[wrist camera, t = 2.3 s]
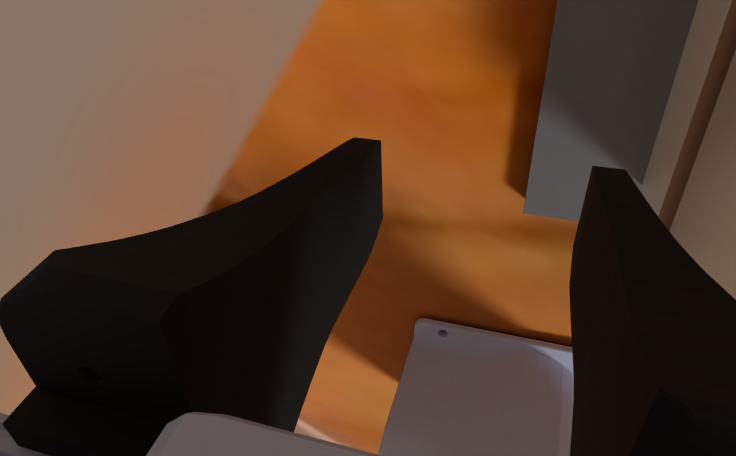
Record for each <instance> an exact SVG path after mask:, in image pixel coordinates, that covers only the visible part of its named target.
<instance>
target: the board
mask: <svg viewBox="0 0 736 456" xmlns="http://www.w3.org/2000/svg"><path fill="white" fill-rule="evenodd" d="M698 1H699V0H557V5H556V11H555V17H554V23H553V30H552V36H551V42H550V48H549V55H548V61H547V67H546V73H545V79H544V86H543V92H542V98H541V104H540V111H539V117H538V123H537V129H536V135H535V142H534V148H533V154H532V160H531V167H530V173H529V179H528V185H527V191H526V198H525V204H524V210H523V213H526V214H533V215H540V216H547V217H554V218H561V219H568V220H575V221H579V220H580V216H581V211H582V207H583V203H584V199H585V195H586V190H587V186H588V182H589V178H590V174H591V169H592V166H600V167H608V168H616V169H625V170H626V171H627V172H628V174H629V175H630V176H631V178H632V179H633V181H634V182H635V184H636V185H637V187H638V188H639V190H640V191H641V193H642V194H643V188H642V183H643V180H644V177H645V174H646V170H647V167H648V164H649V161H650V157H651V154H652V151H653V148H654V144H655V141H656V138H657V135H658V131H659V128H660V125H661V121H662V118H663V115H664V112H665V108H666V105H667V102H668V99H669V95H670V92H671V89H672V86H673V82H674V79H675V76H676V73H677V69H678V66H679V63H680V59H681V56H682V53H683V50H684V46H685V43H686V40H687V37H688V33H689V30H690V27H691V24H692V20H693V17H694V14H695V11H696V7H697V4H698Z"/></svg>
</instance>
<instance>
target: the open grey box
mask: <svg viewBox="0 0 736 456" xmlns="http://www.w3.org/2000/svg"><path fill="white" fill-rule="evenodd" d="M731 2H732V0H699V1H698V4H697V7H696V11H695V14H694V17H693V20H692V24H691V27H690V30H689V33H688V37H687V40H686V43H685V46H684V50H683V53H682V56H681V59H680V63H679V66H678V69H677V73H676V76H675V79H674V82H673V86H672V89H671V92H670V95H669V99H668V102H667V105H666V108H665V112H664V115H663V118H662V121H661V125H660V128H659V131H658V135H657V138H656V141H655V144H654V148H653V151H652V154H651V157H650V161H649V164H648V167H647V170H646V174H645V177H644V180H643V183H642V188H643V196H644V197H645V199H646V200H647V202H648V203H649V205H650V206H651V207H652V209H653V210H654V212H655V213H656V214H657V216H659V213H660V211H661V208H662V205H663V202H664V199H665V196H666V193H667V190H668V187H669V184H670V181H671V178H672V175H673V172H674V169H675V167H676V164H677V161H678V158H679V155H680V152H681V149H682V146H683V143H684V140H685V137H686V134H687V131H688V128H689V126H690V123H691V120H692V117H693V114H694V111H695V108H696V105H697V102H698V99H699V96H700V93H701V90H702V87H703V84H704V82H705V79H706V76H707V73H708V70H709V67H710V64H711V61H712V58H713V55H714V52H715V49H716V46H717V43H718V40H719V38H720V35H721V32H722V29H723V26H724V23H725V20H726V17H727V14H728V11H729V8H730V5H731Z"/></svg>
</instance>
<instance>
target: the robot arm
mask: <svg viewBox="0 0 736 456" xmlns="http://www.w3.org/2000/svg"><path fill="white" fill-rule="evenodd" d="M382 218H383V205H382V164H381V141H380V140H372V139H363V138H355V137H354V138H352V139H350V140H348V141H346V142H345V143H343V144H341V145H340V146H338V147H336V148H335V149H333V150H332V151H330V152H328V153H327V154H325V155H323V156H322V157H320V158H319V159H317V160H315V161H314V162H312V163H310V164H309V165H307V166H305V167H304V168H302V169H301V170H299V171H297V172H296V173H294V174H292V175H290V176H288V177H287V178H285V179H283V180H281V181H279V182H277V183H276V184H274V185H272V186H270V187H268V188H266V189H264V190H263V191H261V192H259V193H257V194H255V195H253V196H251V197H248V198H246V199H244V200H242V201H240V202H237V203H235V204H233V205H230V206H228V207H225V208H223V209H221V210H218V211H216V212H213V213H210V214H207V215H204V216H201V217H198V218H195V219H192V220H189V221H186V222H184V223H180V224H177V225H174V226H172V227H168V228H164V229H160V230H157V231H153V232H149V233H145V234H141V235H137V236H132V237H128V238H124V239H119V240H114V241H109V242H103V243H97V244H92V245H85V246H80V247H73V248H68V249H60V250H55V251H54V252H52V253H51V254H50V255H49V256H48V257H47V258H46V259H44V260H43V261H42V262H41V263H40V264H39V265H38V266H37V267H36V268H34V269H33V270H32V271H31V272H30V273H29V274H28V275H27V276H25V277H24V278H23V279H22V280H21V281H20V282H19V283H18V284H17V285H16V286H14V287H13V288H12V289H11V290H10V291H9V292H8V293H6V294H5V295H4V296H3V297H2V298H1V301H0V326H1V328H2V330H3V332H4V334H5V336H6V338H7V340H8V342H9V343H10V345H11V347H12V348H13V350H14V351H15V353H16V354H17V356H18V358H19V359H20V361H21V363H22V364H23V366H24V368H25V369H26V371H27V372H28V374H29V376H30V377H31V379H32V380H33V382H34V384H35V385H36V387H35V388H34V389H33V390H32V392H31V393H30V394H29V395H28V396H27V397H26V398H25V399H24V400H23V401H22V402H21V403H20V405H19V406H18V407H17V408H16V409H15V410H14V411H13V412H12V413H11V415H10V416H9V415H6V414H2V413H0V456H736V299H735V298H733V297H732V296H731V295H730V294H729V293H728V292H727V291H726V290H725V289H724V288H722V287H721V286H720V285H719V284H718V283H717V282H716V281H715V280H714V279H713V278H712V277H711V276H709V275H708V274H707V273H706V272H705V271H704V270H703V269H702V268H701V267H700V266H699V265H698V264H697V263H696V261H695V260H694V259H693V258H692V257H691V256H690V255H689V254H688V253H687V251H686V250H685V249H684V248H683V247H682V246H681V245H680V244H679V243H678V241H677V240H676V239H675V238H674V237H673V235H672V234H671V233H670V231H669V230H668V229H667V228H666V226H665V225H664V224H663V222H662V221H661V220H660V218H659V217H658V216H657V214H656V213H655V212H654V210H653V209H652V207H651V206H650V205H649V203H648V202H647V200H646V199H645V197H644V196H643V194H642V193H641V191H640V190H639V188H638V187H637V185H636V184H635V182H634V181H633V179H632V178H631V176H630V175H629V174H628V172H627V171H626V170H625V169H616V168H608V167H600V166H592V169H591V174H590V178H589V182H588V186H587V190H586V195H585V199H584V203H583V207H582V211H581V216H580V220H579V224H578V228H577V232H576V237H575V241H574V245H573V254H572V264H571V276H570V311H571V333H572V347H569V346H564V345H559V344H554V343H549V342H544V341H539V340H533V339H528V338H523V337H518V336H513V335H508V334H503V333H498V332H493V331H488V330H483V329H477V328H472V327H467V326H462V325H457V324H452V323H447V322H442V321H437V320H432V319H426V318H420V319H418V320H417V321H416V323H415V327H414V337H413V341H412V344H411V347H410V350H409V353H408V356H407V359H406V363H405V366H404V369H403V372H402V375H401V378H400V381H399V385H398V388H397V391H396V394H395V397H394V400H393V403H392V407H391V410H390V413H389V416H388V419H387V422H386V426H385V429H384V433H383V437H382V441H381V445H380V449H379V454H378V455H377V454H374V453H370V452H366V451H362V450H358V449H355V448H351V447H347V446H343V445H339V444H336V443H332V442H328V441H324V440H320V439H317V438H313V437H309V436H305V435H302V434H298V433H294V430H295V427H296V424H297V421H298V418H299V415H300V412H301V409H302V406H303V403H304V401H305V398H306V395H307V392H308V389H309V386H310V384H311V381H312V378H313V375H314V373H315V370H316V367H317V365H318V362H319V359H320V357H321V354H322V351H323V349H324V346H325V344H326V341H327V339H328V337H329V335H330V333H331V330H332V328H333V326H334V324H335V322H336V320H337V318H338V316H339V314H340V313H341V311H342V309H343V307H344V305H345V303H346V301H347V299H348V297H349V295H350V293H351V291H352V289H353V287H354V285H355V283H356V281H357V279H358V277H359V276H360V274H361V272H362V270H363V268H364V266H365V264H366V262H367V260H368V258H369V255H370V253H371V251H372V248H373V245H374V242H375V239H376V236H377V233H378V230H379V227H380V224H381V221H382ZM441 330H444V331H446V332H444V331H441Z"/></svg>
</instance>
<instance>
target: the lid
mask: <svg viewBox="0 0 736 456" xmlns="http://www.w3.org/2000/svg"><path fill="white" fill-rule="evenodd" d="M658 217H659V218H660V220H661V221H662V222H663V224H664V225H665V226H666V228H667V229H668V230H669V231H670V233H671V234H672V235H673V237H674V238H675V239H676V240H677V241H678V243H679V244H680V245H681V246H682V247H683V248H684V249H685V250H686V251H687V253H688V254H689V255H690V256H691V257H692V258H693V259H694V260H695V261H696V263H697V264H698V265H699V266H700V267H701V268H702V269H703V270H704V271H705V272H706V273H707V274H708V275H709V276H711V277H712V278H713V279H714V280H715V281H716V282H717V283H718V284H719V285H720V286H721V287H722V288H724V289H725V290H726V291H727V292H728V293H729V294H730V295H731V296H732V297H733V298H735V299H736V0H732V2H731V5H730V8H729V11H728V14H727V17H726V20H725V23H724V26H723V29H722V32H721V35H720V38H719V40H718V43H717V46H716V49H715V52H714V55H713V58H712V61H711V64H710V67H709V70H708V73H707V76H706V79H705V82H704V84H703V87H702V90H701V93H700V96H699V99H698V102H697V105H696V108H695V111H694V114H693V117H692V120H691V123H690V126H689V128H688V131H687V134H686V137H685V140H684V143H683V146H682V149H681V152H680V155H679V158H678V161H677V164H676V167H675V169H674V172H673V175H672V178H671V181H670V184H669V187H668V190H667V193H666V196H665V199H664V202H663V205H662V208H661V211H660V213H659V216H658Z"/></svg>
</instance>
